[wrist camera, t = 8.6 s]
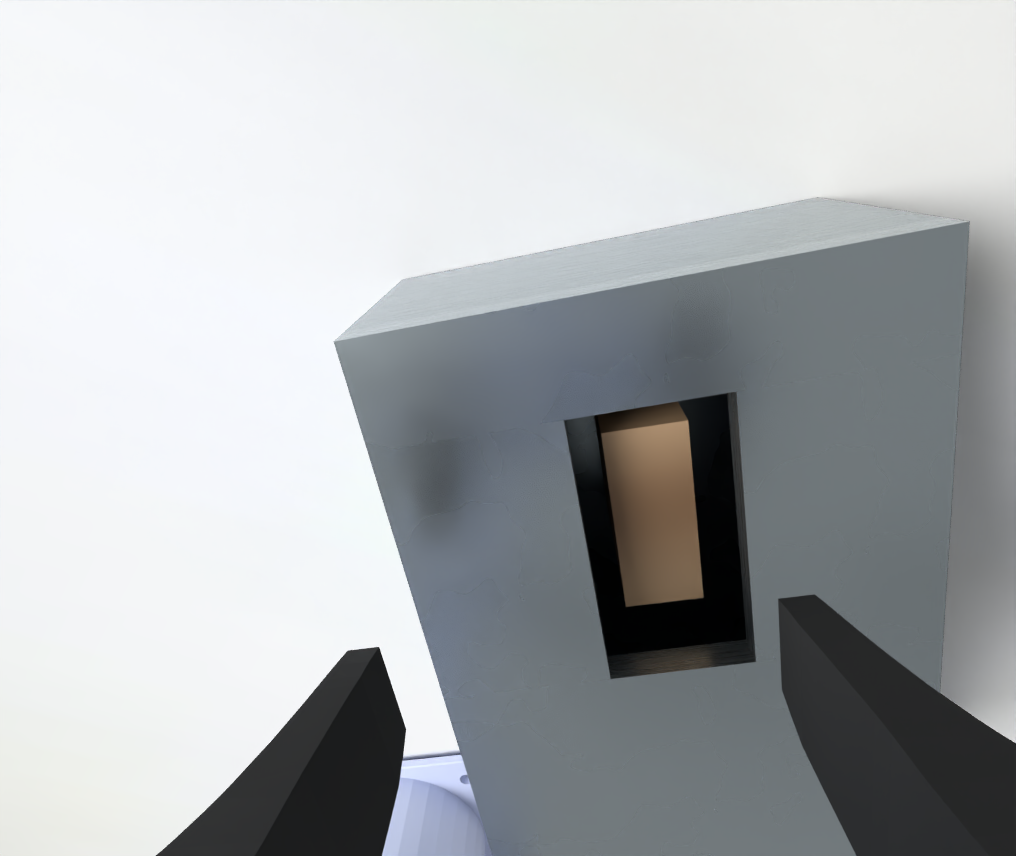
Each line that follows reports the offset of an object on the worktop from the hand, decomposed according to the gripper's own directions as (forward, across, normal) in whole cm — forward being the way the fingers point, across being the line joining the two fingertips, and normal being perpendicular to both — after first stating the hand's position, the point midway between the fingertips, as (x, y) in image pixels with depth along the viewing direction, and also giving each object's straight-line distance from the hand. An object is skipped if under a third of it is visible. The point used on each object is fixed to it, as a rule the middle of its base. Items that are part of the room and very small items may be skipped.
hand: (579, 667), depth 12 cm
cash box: (+10, -2, +3) cm, 11 cm away
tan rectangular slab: (+10, -2, 0) cm, 10 cm away
